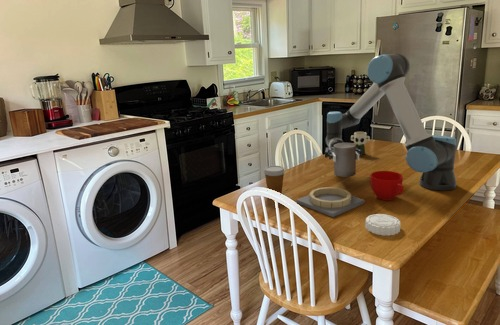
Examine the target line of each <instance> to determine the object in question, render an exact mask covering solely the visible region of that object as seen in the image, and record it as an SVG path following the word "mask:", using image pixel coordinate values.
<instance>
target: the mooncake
mask: <svg viewBox="0 0 500 325" xmlns="http://www.w3.org/2000/svg"><path fill="white" fill-rule="evenodd" d="M364 226H365V229H366V230H367V231H368V232H369V233H370V232H371V233H372V234H375V235H381V236H383V237H385V236H387V237H388V236H395V235H397V234H399V233H400V232H401V221H400V219H398V217H395V216H393V215H389V214H386V213H376V214H370V215H368V216H367V217H366V218H365V225H364Z"/></svg>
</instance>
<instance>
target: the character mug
mask: <svg viewBox="0 0 500 325" xmlns="http://www.w3.org/2000/svg"><path fill="white" fill-rule="evenodd" d="M367 134H368V133H367V132H366V131H365V132H364V131H355V132H354V133H353V135H351V136H350V141H353V144H355V145H356V148H357V149H359V150H361V151H362V155H365V153H366V148H365V145H366V143H369V142H370V141H371V140H370V138H371V137H370V136H369V135H367Z"/></svg>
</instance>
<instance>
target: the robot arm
mask: <svg viewBox="0 0 500 325" xmlns="http://www.w3.org/2000/svg"><path fill="white" fill-rule="evenodd" d="M410 68H411V66H410V60H409V59H408V57H406V56H405V55H403V54H401V53H391V54H380V55H376V56H375V57H373V58H372V59H371V60H370V61H369V63H368V66H367V69H366V70H367V71H366V72H367V77H368V78H369V81H371V82H373V84H371V85H370V87H368V89H367V90H366V91H365V92H364V93H363V94H362V96H360V97H359V98H358V99H357V101H355V103H354V104H353V105H352V106H351V107H349V109H348V110H347V111H346V112H345V113H342V112H341V111H329V112H327V114H326V137H325V144H326V146H327V147H325V151H324V158H328V159H329V160H332V161H333V163H334V162H336V155H335V154H334V145H335V144H337V143H345V142H344V140H343V139H342V137H343V135H342V134H343V133H342V132H343V129H346V128H350V127H355V126H356V125H358V124H360V122H361V119H362V117H363V116H364V115H366V114H367V113H368V112H369V110H370V109H371V108H373V106H374V105H375V104H376V103H377V102H378V101H379V100H380V99H381V98H382V97H383V96H385V95H386V99H387V100H388V103H389V104H390V107H391V109H392V111H393V113H394V116H395V118H396V120H397V123H398V124H399V126H400V127H399V128H400V129H401V132H402V133H403V136H404V137H405V140H406V144H405V149H406V151H407V152H406V156H405V160H406V164H407V165H408V167H409V168H410V169H411V170H413V171H415V172H417V173H422V174H421V176H420V178H419V185H420V186H421V187H423V188H425V189H428V190H433V191H441V192H443V191H445V192H446V190H447V191H452V189H453V190H455V189H456V188H457V179H456V175H455V171H454V167H455V160H456V150H457V139H456V138H455V137H453V136H446V135H439V134H438V135H437V134H436V135H435V134H434V135H432V134H430V133H428V132H427V130H426V127H425V126H424V124H423V121H422V119H421V117H420V115H419V113H418V112H419V111H417V108H416V105H415V104H414V101H413V99H412V97H411V96H410V93H409V90H408V88H407V87H406V85H405V80H406V77H407V75H408V74H409V72H410ZM362 156H363V154H362V151H361V150H359V149H357V148H356V162H360V157H362Z"/></svg>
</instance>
